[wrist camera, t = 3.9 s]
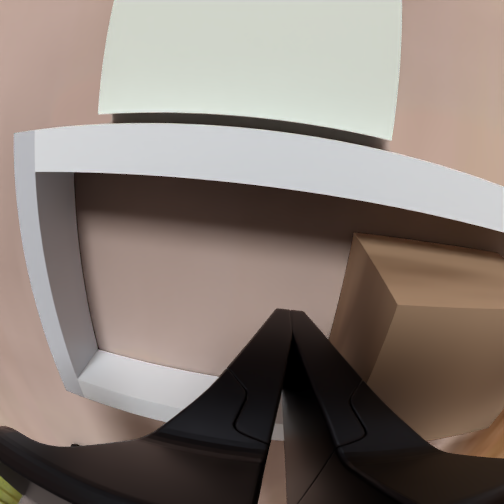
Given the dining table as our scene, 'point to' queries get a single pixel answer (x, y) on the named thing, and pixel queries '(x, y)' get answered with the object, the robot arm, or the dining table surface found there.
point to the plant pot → (8, 493)
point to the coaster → (257, 60)
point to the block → (425, 331)
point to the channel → (196, 167)
